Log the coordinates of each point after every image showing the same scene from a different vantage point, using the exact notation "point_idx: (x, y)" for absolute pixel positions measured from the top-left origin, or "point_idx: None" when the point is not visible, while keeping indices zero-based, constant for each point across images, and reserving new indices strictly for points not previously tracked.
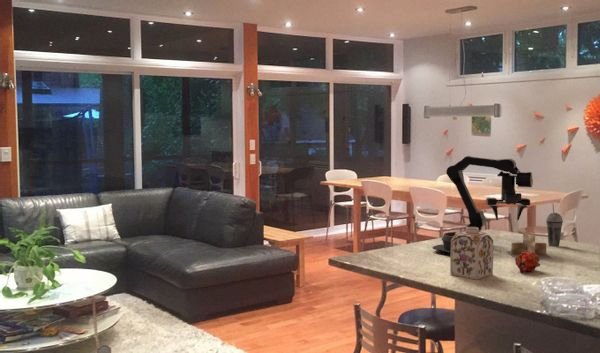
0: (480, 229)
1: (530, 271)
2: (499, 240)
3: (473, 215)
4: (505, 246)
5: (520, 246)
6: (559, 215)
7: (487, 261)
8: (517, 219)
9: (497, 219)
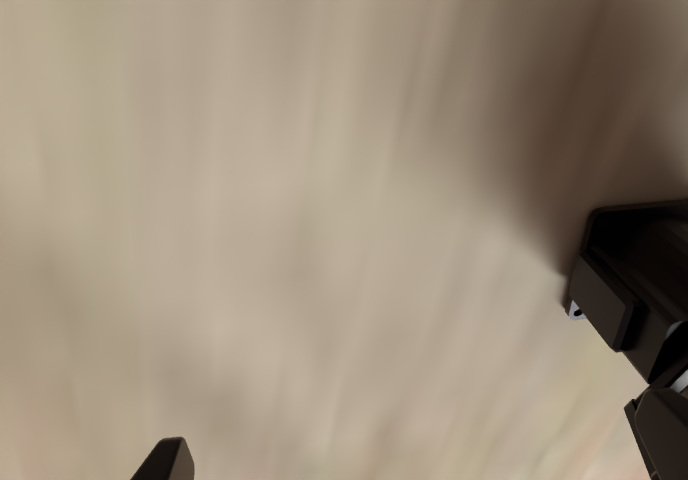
0: (636, 408)
1: None
2: (362, 430)
3: None
4: (360, 209)
5: None
6: None
7: None
8: (181, 465)
9: (670, 398)
